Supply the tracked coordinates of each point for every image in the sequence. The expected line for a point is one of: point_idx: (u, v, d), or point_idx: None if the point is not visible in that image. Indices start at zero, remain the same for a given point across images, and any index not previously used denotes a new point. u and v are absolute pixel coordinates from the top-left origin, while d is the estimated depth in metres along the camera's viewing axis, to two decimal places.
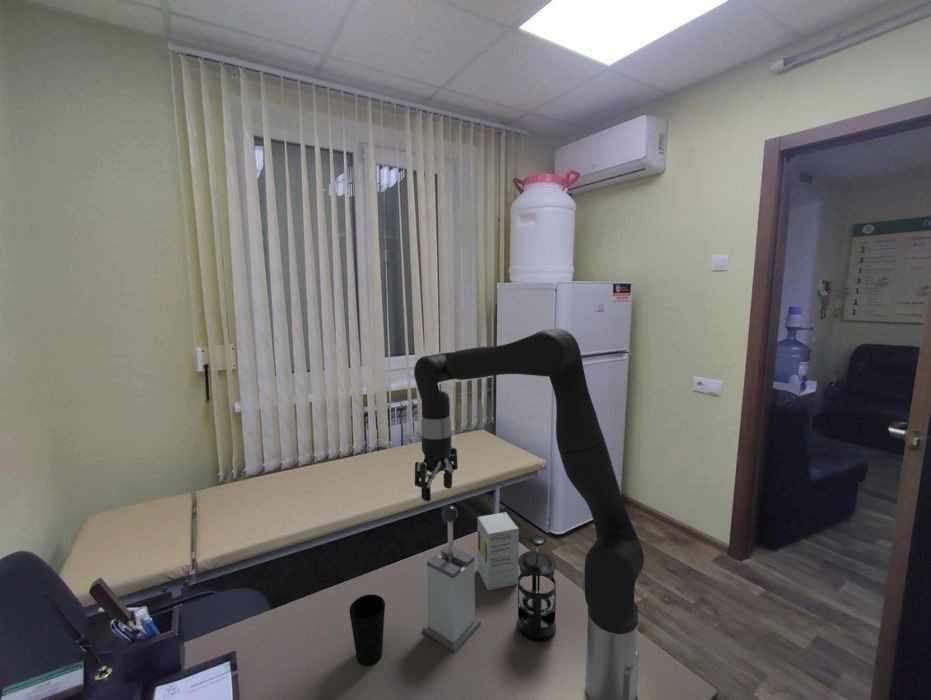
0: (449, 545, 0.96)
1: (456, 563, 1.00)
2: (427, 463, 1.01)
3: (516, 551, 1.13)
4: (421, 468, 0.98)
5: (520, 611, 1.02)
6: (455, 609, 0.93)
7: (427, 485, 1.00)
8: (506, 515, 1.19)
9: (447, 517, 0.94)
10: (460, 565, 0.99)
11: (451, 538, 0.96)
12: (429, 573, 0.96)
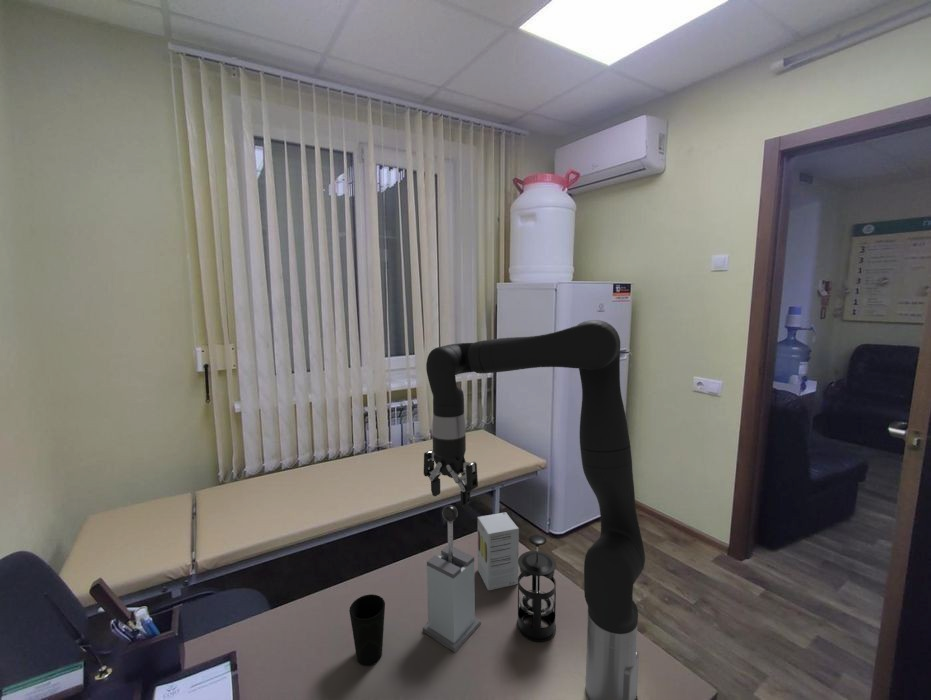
0: (449, 545, 0.96)
1: (456, 563, 1.00)
2: None
3: (516, 551, 1.13)
4: (476, 466, 0.91)
5: (520, 611, 1.02)
6: (455, 609, 0.93)
7: None
8: (506, 515, 1.19)
9: (447, 517, 0.94)
10: (460, 565, 0.99)
11: (451, 538, 0.96)
12: (429, 573, 0.96)
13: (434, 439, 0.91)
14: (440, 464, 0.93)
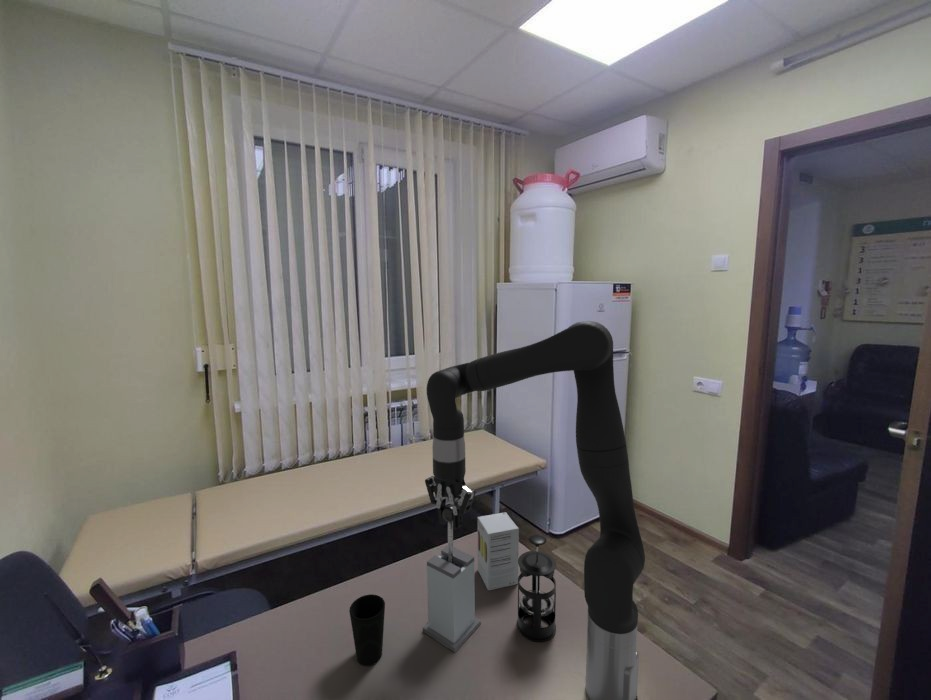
0: (449, 545, 0.96)
1: (456, 563, 1.00)
2: None
3: (516, 551, 1.13)
4: (474, 495, 0.92)
5: (520, 611, 1.02)
6: (455, 609, 0.93)
7: None
8: (506, 515, 1.19)
9: (447, 517, 0.94)
10: (460, 565, 0.99)
11: (451, 538, 0.96)
12: (429, 573, 0.96)
13: (434, 461, 0.92)
14: (440, 486, 0.94)
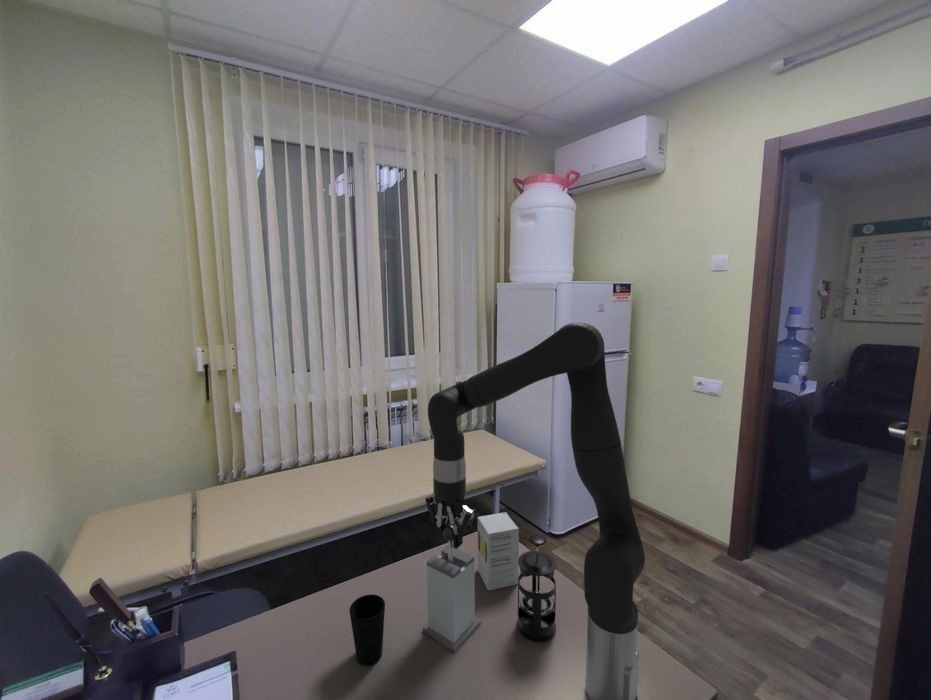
0: None
1: None
2: None
3: (516, 551, 1.13)
4: (474, 514, 0.92)
5: (520, 611, 1.02)
6: (455, 609, 0.93)
7: None
8: (506, 515, 1.19)
9: (447, 536, 0.95)
10: None
11: (451, 557, 0.97)
12: (429, 573, 0.96)
13: (435, 481, 0.93)
14: (440, 505, 0.95)
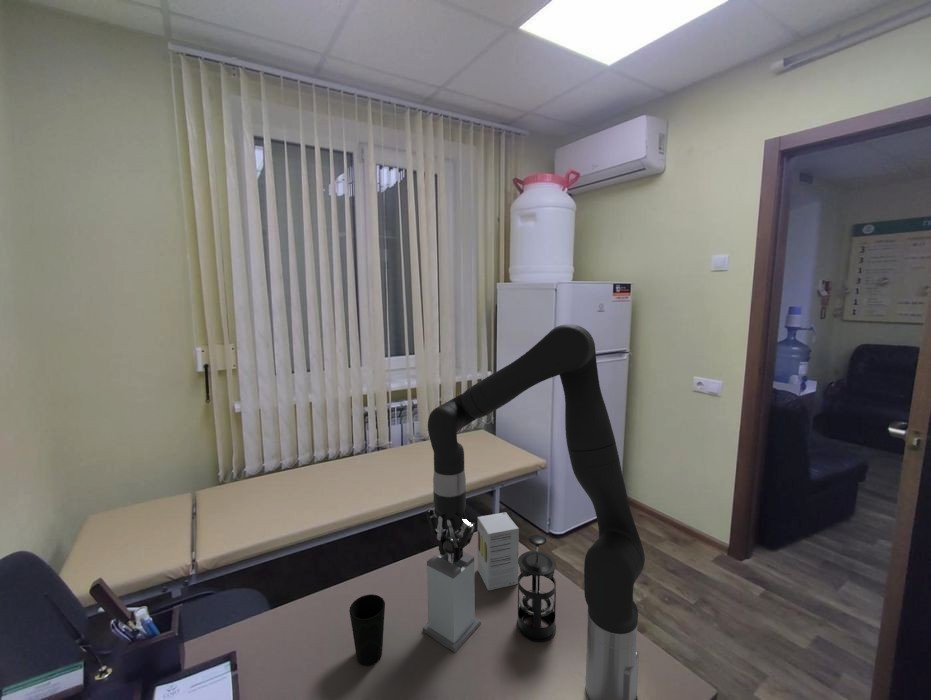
0: None
1: None
2: None
3: (516, 551, 1.13)
4: (474, 528, 0.93)
5: (520, 611, 1.02)
6: (455, 609, 0.93)
7: None
8: (506, 515, 1.19)
9: (447, 550, 0.95)
10: None
11: None
12: (429, 573, 0.96)
13: (435, 495, 0.93)
14: (441, 518, 0.95)
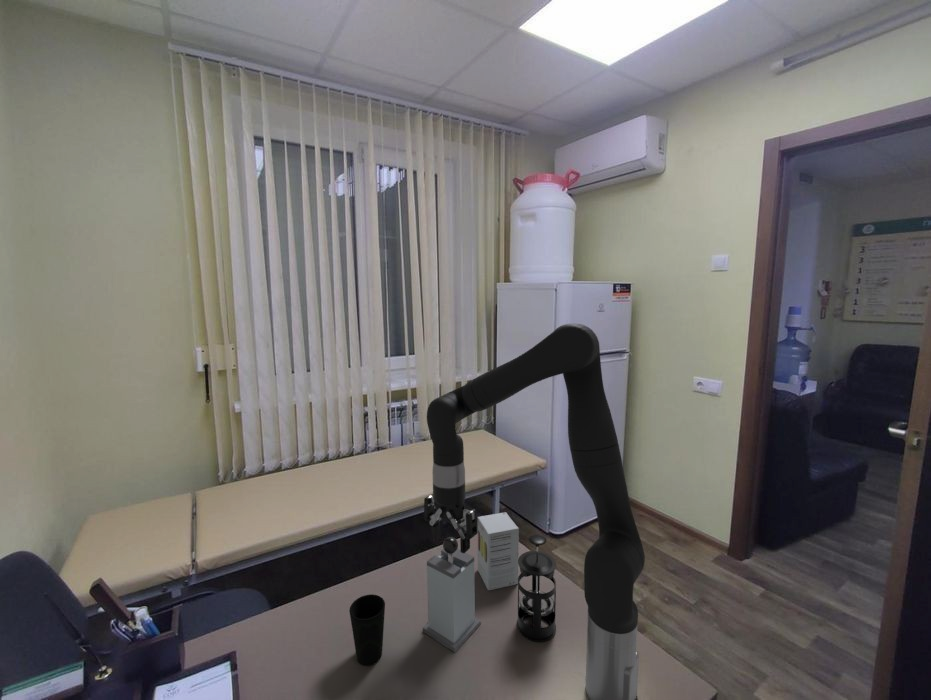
0: None
1: None
2: None
3: (516, 551, 1.13)
4: (475, 514, 0.92)
5: (520, 611, 1.02)
6: (455, 609, 0.93)
7: None
8: (506, 515, 1.19)
9: (447, 550, 0.95)
10: None
11: None
12: (429, 573, 0.96)
13: (434, 487, 0.93)
14: (440, 511, 0.95)
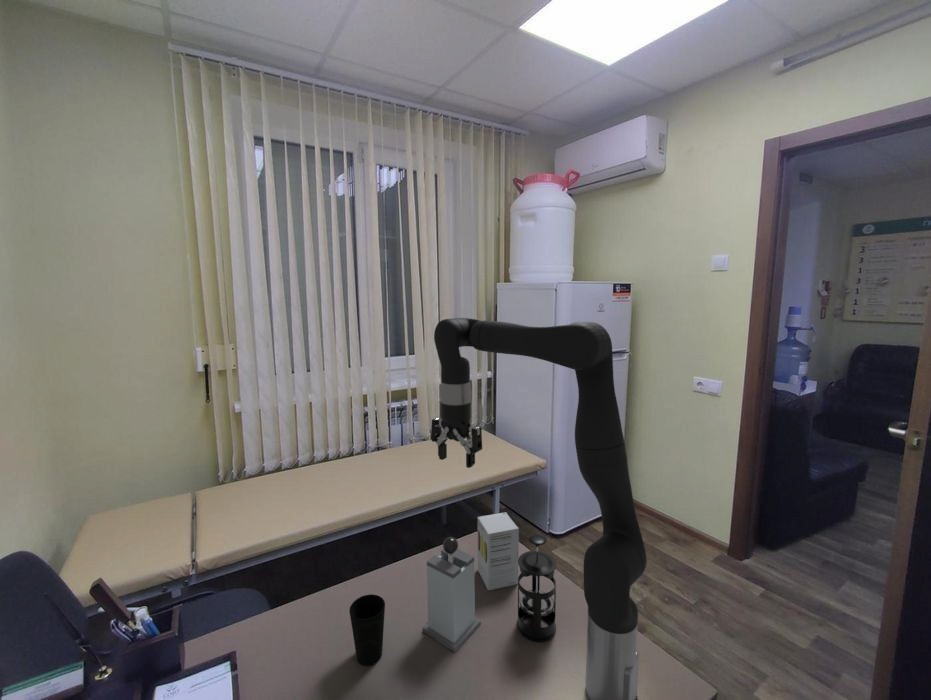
0: None
1: None
2: None
3: (516, 551, 1.13)
4: (480, 430, 0.98)
5: (520, 611, 1.02)
6: (455, 609, 0.93)
7: None
8: (506, 515, 1.19)
9: (447, 550, 0.95)
10: None
11: None
12: (429, 573, 0.96)
13: (442, 405, 0.99)
14: (447, 429, 1.01)
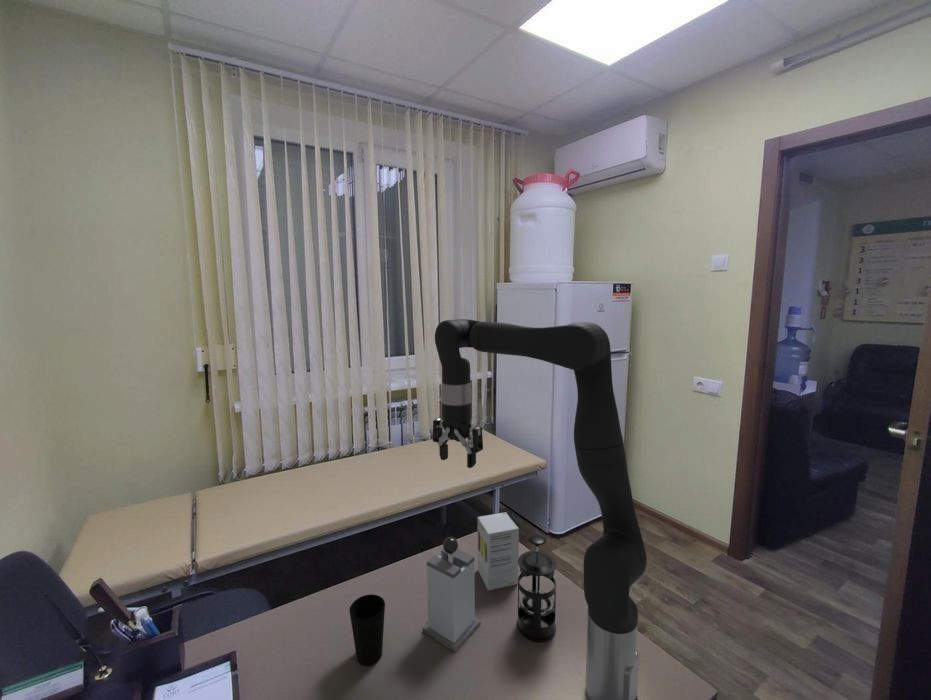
0: None
1: None
2: None
3: (516, 551, 1.13)
4: (481, 430, 0.99)
5: (520, 611, 1.02)
6: (455, 609, 0.93)
7: None
8: (506, 515, 1.19)
9: (447, 550, 0.95)
10: None
11: None
12: (429, 573, 0.96)
13: (443, 406, 1.00)
14: (448, 429, 1.01)
